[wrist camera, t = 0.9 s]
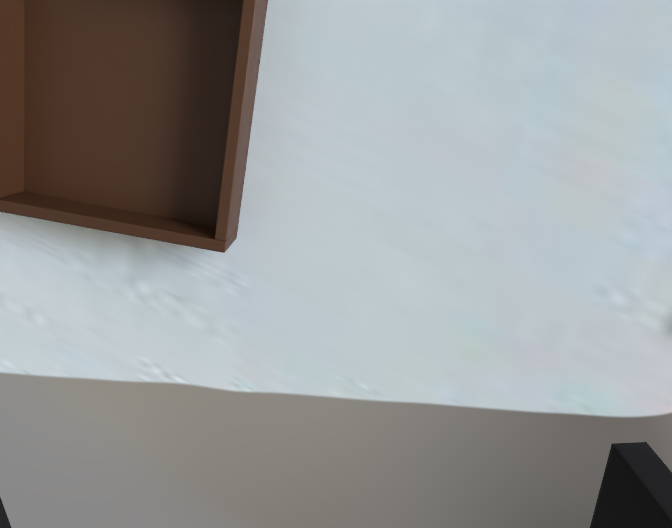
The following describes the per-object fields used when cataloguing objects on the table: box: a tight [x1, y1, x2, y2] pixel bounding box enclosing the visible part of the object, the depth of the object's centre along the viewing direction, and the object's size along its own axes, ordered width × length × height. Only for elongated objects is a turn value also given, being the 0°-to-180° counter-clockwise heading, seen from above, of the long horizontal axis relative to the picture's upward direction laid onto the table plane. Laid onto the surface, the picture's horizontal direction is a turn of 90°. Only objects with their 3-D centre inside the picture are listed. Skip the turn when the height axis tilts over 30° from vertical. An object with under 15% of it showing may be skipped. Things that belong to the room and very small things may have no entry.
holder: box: [0, 0, 268, 253], centre depth 33 cm, size 17×16×4 cm
